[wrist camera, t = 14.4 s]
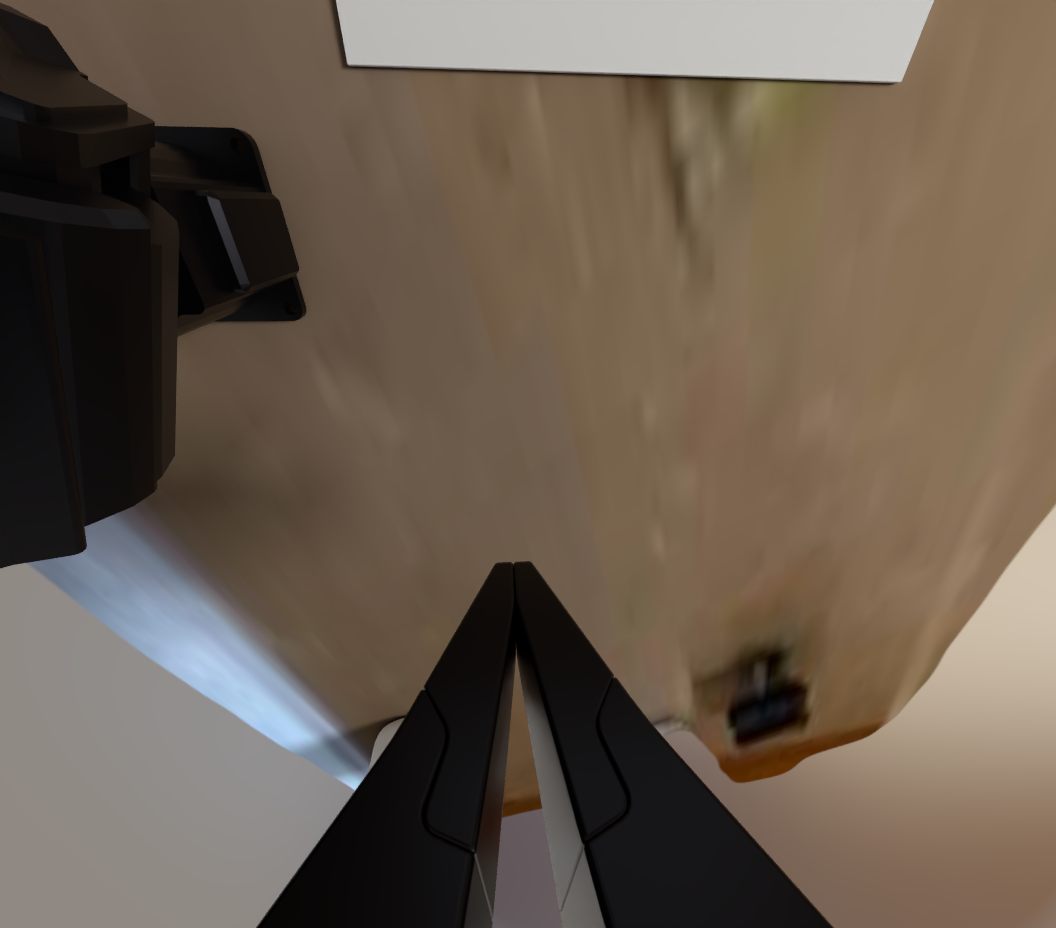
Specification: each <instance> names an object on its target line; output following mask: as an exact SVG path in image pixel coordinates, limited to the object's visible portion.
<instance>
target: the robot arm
mask: <svg viewBox="0 0 1056 928" xmlns="http://www.w3.org/2000/svg"><path fill="white" fill-rule="evenodd" d="M238 139H240V140H242V141H243V143H244V145H245V147H246V152H245V154H244V155H242V154H241V153H239V151H238V149H237V147H236V142H237V140H238ZM298 271H299V266H298V262H297V259H296V256H295V252H294V249H293V245H292V242H291V239H290V235H289V232H288V228H287V225H286V222H285V218H284V215H283V211H282V208H281V205H280V202H279V200H278V199H277V198H276V197H275V196H274V195H273V194H272V192H271V189H270V186H269V182H268V179H267V176H266V172H265V169H264V166H263V162H262V159H261V156H260V152H259V149H258V146H257V144H256V142H255V140H254V139H253V138H252V137H251V136H250V135H249V134H248V133H246V132H245V131H242V130H238V129H234V128H216V127H169V126H155V122H154V121H153V120H152V119H150V118H148V117H146V116H144V115H142V114H140V113H138V112H136V111H135V110H133V109H131V108H129V107H127V103H126V102H125V101H123V100H121V99H120V98H118V97H116V96H114V95H113V94H111V93H109V92H107V91H106V90H104V89H102V88H100V87H99V86H97V85H95V84H93V83H92V82H90V81H88V76H87V75H85V74H83V73H82V72H80V71H79V70H78V69H77V67H76V66H75V65H74V63H73V62H72V60H71V59H70V58H69V56H68V55H67V53H66V52H65V51H64V49H63V48H62V46H61V45H60V43H59V42H58V41H57V39H56V38H55V36H54V35H53V34H52V32H51V31H50V29H49V28H48V27H47V26H45V25H43V24H41V23H39V22H38V21H36V20H34V19H32V18H30V17H28V16H27V15H25V14H23V13H21V12H19V11H17V10H16V9H14V8H12V7H10V6H7V5H5V4H2V3H0V568H3V567H7V566H11V565H15V564H21V563H28V562H34V561H40V560H46V559H52V558H59V557H65V556H71V555H76V554H79V553H81V552H83V551H84V550H85V549H86V547H87V543H86V536H85V529H84V527H85V526H88V525H90V524H92V523H95V522H97V521H99V520H102V519H104V518H107V517H109V516H111V515H114V514H116V513H118V512H121V511H123V510H125V509H128V508H130V507H132V506H134V505H136V504H137V503H139V502H140V501H142V500H143V499H145V498H146V497H148V496H149V495H150V494H152V493H153V492H155V490H156V489H157V480H159V479H160V478H161V477H162V476H163V474H164V472H165V471H166V469H167V467H168V466H169V464H170V462H171V461H172V459H173V457H174V456H175V423H176V374H177V337H178V336H180V335H183V334H185V333H187V332H190V331H192V330H195V329H197V328H199V327H202V326H204V325H207V324H209V323H211V322H214V321H295V320H299V319H301V318H302V317H303V316H305V314H306V306H305V302H304V299H303V296H302V292H301V289H300V286H299V282H298V279H297V276H296V274H297V273H298ZM288 303H292V304H293V305H294V306H295V307H296V309H297V312H296V313H294V312H292V311H291V310H290V309H289V307H288ZM516 650H517V659H518V666H519V672H520V678H521V684H522V690H523V696H524V702H525V708H526V714H527V720H528V726H529V731H530V737H531V743H532V749H533V755H534V761H535V767H536V773H537V779H538V785H539V791H540V797H541V803H542V809H543V815H544V820H545V826H546V832H547V838H548V844H549V850H550V856H551V862H552V868H553V874H554V880H555V886H556V892H557V898H558V903H559V909H560V911H561V921H562V927H563V928H834V927H833V926H832V925H831V924H830V923H829V922H828V921H827V920H826V918H825V917H824V916H823V915H822V914H821V913H820V912H819V911H818V909H817V908H816V907H815V906H814V905H813V904H812V903H811V902H810V901H809V899H808V898H807V897H806V896H805V895H804V894H803V893H802V892H801V891H800V889H799V888H798V887H797V886H796V885H795V884H794V883H793V882H792V881H791V879H789V878H788V876H787V875H786V874H785V873H784V872H783V871H782V870H781V868H780V867H779V866H778V865H777V864H776V863H775V862H774V861H773V859H772V858H771V857H770V856H769V855H768V854H767V853H766V852H765V851H764V849H763V848H762V847H761V846H760V845H759V844H758V843H757V842H756V840H755V839H754V838H753V837H752V836H751V835H750V834H749V833H748V832H747V831H746V829H745V828H744V827H743V826H742V825H741V824H740V823H739V822H738V820H737V819H736V818H735V817H734V816H733V815H732V814H731V813H730V812H729V810H728V809H727V808H726V807H725V806H724V805H723V804H722V803H721V802H720V800H719V799H718V798H717V797H716V796H715V795H714V794H713V793H712V792H711V790H710V789H709V788H708V787H707V786H706V785H705V784H704V783H703V782H702V780H701V779H700V778H699V777H698V776H697V775H696V774H695V773H694V771H693V770H692V769H691V768H690V767H689V766H688V765H687V764H686V763H685V761H684V760H683V759H682V758H681V757H680V756H679V755H678V754H677V753H676V751H675V750H674V749H673V748H672V747H671V746H670V745H669V743H668V742H667V741H666V740H665V739H664V738H663V736H662V735H661V734H660V733H659V732H658V731H657V729H656V728H655V727H654V726H653V725H652V724H651V722H650V721H649V720H648V719H647V717H646V716H645V715H644V714H643V712H642V711H641V710H640V708H639V707H638V706H637V705H636V703H635V702H634V701H633V699H632V698H631V697H630V696H629V694H628V693H627V691H626V690H625V689H624V687H623V686H622V685H621V683H620V682H619V680H618V679H617V678H614V675H613V673H612V672H611V670H610V669H609V668H608V666H607V665H606V664H605V662H604V661H603V659H602V658H601V657H600V655H599V654H598V653H597V651H596V650H595V648H594V647H593V646H592V644H591V643H590V642H589V640H588V639H587V637H586V636H585V635H584V633H583V632H582V631H581V629H580V628H579V627H578V625H577V624H576V622H575V621H574V620H573V618H572V617H571V616H570V614H569V613H568V611H567V610H566V609H565V607H564V606H563V605H562V603H561V602H560V601H559V599H558V598H557V596H556V595H555V594H554V592H553V591H552V590H551V588H550V587H549V585H548V584H547V583H546V581H545V580H544V579H543V577H542V576H541V575H540V573H539V572H538V570H537V569H536V568H535V566H534V565H533V564H532V563H531V562H530V561H524V562H515V563H514V568H513V563H511V562H502V563H496V564H495V565H494V567H493V568H492V570H491V572H490V573H489V575H488V577H487V579H486V580H485V582H484V584H483V585H482V587H481V589H480V591H479V592H478V594H477V596H476V598H475V599H474V601H473V603H472V604H471V606H470V608H469V610H468V611H467V613H466V615H465V616H464V618H463V620H462V622H461V623H460V625H459V627H458V628H457V630H456V632H455V634H454V635H453V637H452V639H451V640H450V642H449V644H448V646H447V647H446V649H445V651H444V653H443V654H442V656H441V658H440V659H439V661H438V663H437V665H436V666H435V668H434V670H433V671H432V673H431V675H430V677H429V678H428V680H427V682H426V683H425V685H424V690H421V691H420V693H419V695H418V696H417V698H416V700H415V701H414V703H413V705H412V707H411V708H410V710H409V712H408V713H407V715H406V716H405V718H404V720H403V721H402V723H401V724H400V726H399V728H398V729H397V731H396V733H395V734H394V736H393V737H392V739H391V740H390V742H389V743H388V745H387V746H386V748H385V749H384V751H383V752H382V753H381V755H380V756H379V758H378V759H377V761H376V762H375V764H374V765H373V766H372V768H371V769H370V771H369V772H368V774H367V775H366V776H365V778H364V779H363V781H362V782H361V783H360V785H359V786H358V788H357V789H356V790H355V792H354V793H353V794H352V796H351V797H350V799H349V800H348V802H347V803H346V804H345V806H344V807H343V808H342V810H341V811H340V813H339V814H338V815H337V817H336V818H335V819H334V821H333V822H332V824H331V825H330V826H329V828H328V829H327V830H326V832H325V833H324V835H323V836H322V837H321V839H320V840H319V841H318V843H317V844H316V846H315V847H314V848H313V850H312V851H311V852H310V854H309V855H308V857H307V858H306V859H305V861H304V862H303V864H302V865H301V867H300V868H299V869H298V870H297V872H296V873H295V875H294V876H293V877H292V879H291V880H290V882H289V883H288V884H287V886H286V887H285V888H284V890H283V891H282V893H281V894H280V895H279V897H278V898H277V900H276V901H275V902H274V904H273V905H272V906H271V908H270V909H269V910H268V912H267V913H266V915H265V916H264V917H263V919H262V920H261V922H260V923H259V924H258V926H257V927H256V928H492V924H493V922H492V918H493V912H494V901H495V900H494V899H495V890H496V878H497V867H498V856H499V844H500V832H501V821H502V810H503V799H504V787H505V776H506V765H507V753H508V742H509V730H510V719H511V708H512V696H513V685H514V673H515V661H516Z"/></svg>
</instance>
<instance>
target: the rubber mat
mask: <svg viewBox="0 0 1056 928" xmlns="http://www.w3.org/2000/svg"><path fill="white" fill-rule="evenodd" d="M933 2H934V0H336V3H337V9H338V14H339V20H340V25H341V31H342V36H343V42H344V47H345V53H346V59H347V64H348V65H349V66H360V67H392V68H424V69H456V70H488V71H520V72H552V73H584V74H616V75H648V76H680V77H712V78H744V79H776V80H808V81H840V82H872V83H899V82H901V81H902V79H903V76H904V74H905V71H906V69H907V66H908V64H909V61H910V59H911V56H912V54H913V52H914V49H915V47H916V44H917V42H918V39H919V37H920V34H921V32H922V29H923V27H924V24H925V22H926V19H927V17H928V14H929V12H930V9H931V7H932V4H933Z"/></svg>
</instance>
